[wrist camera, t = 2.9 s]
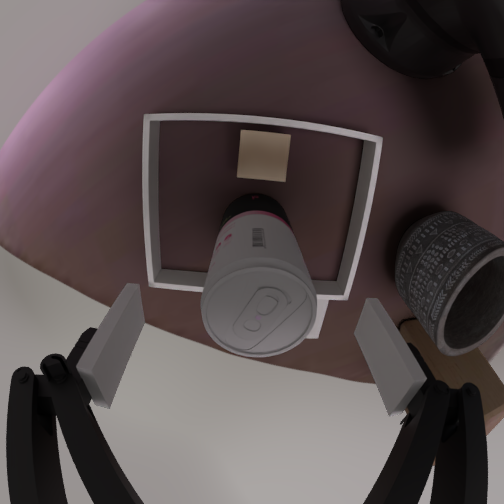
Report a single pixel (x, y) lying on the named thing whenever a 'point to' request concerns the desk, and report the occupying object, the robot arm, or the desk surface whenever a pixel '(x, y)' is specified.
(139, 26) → the desk surface
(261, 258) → the beverage can
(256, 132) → the beech block
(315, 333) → the pad
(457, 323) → the planter
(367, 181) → the bin
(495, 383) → the wooden block
